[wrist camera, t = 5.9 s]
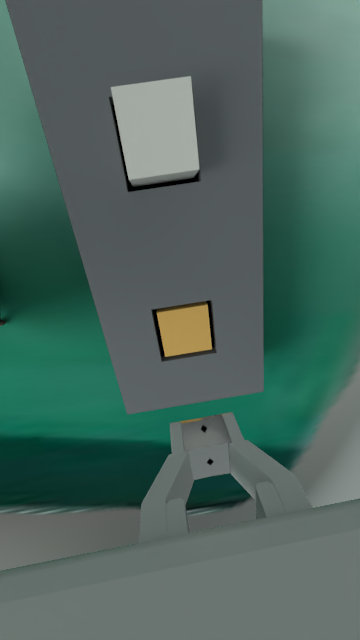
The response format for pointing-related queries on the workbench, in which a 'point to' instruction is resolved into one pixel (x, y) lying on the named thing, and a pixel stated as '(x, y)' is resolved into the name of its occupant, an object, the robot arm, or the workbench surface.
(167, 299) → the control box
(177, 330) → the orange key
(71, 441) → the workbench surface
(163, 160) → the white key
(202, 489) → the workbench surface
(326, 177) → the workbench surface
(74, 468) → the workbench surface
